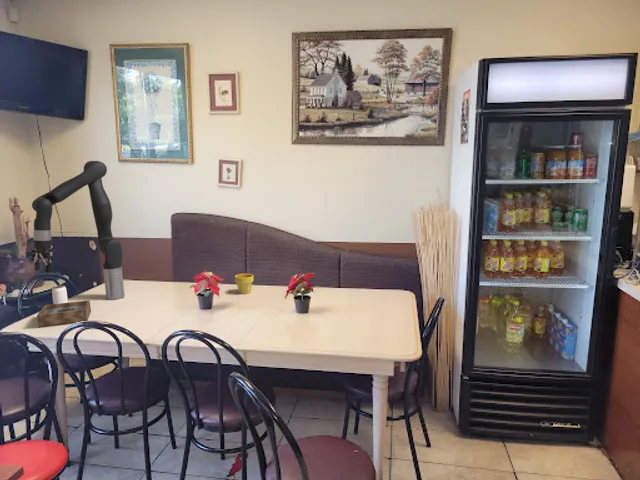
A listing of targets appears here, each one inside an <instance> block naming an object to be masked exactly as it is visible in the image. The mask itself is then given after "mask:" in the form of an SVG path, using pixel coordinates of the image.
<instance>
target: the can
mask: <svg viewBox="0 0 640 480" xmlns="http://www.w3.org/2000/svg"><path fill="white" fill-rule="evenodd" d="M51 293H52V294H51V295H52V302H53V303H52V304H60V303H69V300H68V299H69V298H68V292H67V287H66V285H65V284H58V285H54V286H52V289H51Z"/></svg>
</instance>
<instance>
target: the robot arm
mask: <svg viewBox="0 0 640 480" xmlns="http://www.w3.org/2000/svg"><path fill="white" fill-rule="evenodd" d="M107 168H108V167H107V165H106V164H105V163H104V162H103V161H100V160H89V161H87V162H85V163H84V165H83V171H82V172H80V173H79V174H77V175H76V176H74V177H72V178H70V179H67V180H65V181H64V182H62V183H60V184H59V185H57V186H55V187H54V188H52V189H51V190H50V191H48V192H47V193H43V194H42V195H40V196H37V198H35V199H34V200H33V201H32V202H31V207H32V209H33V210H34V211H35V212H36V214H35V218H34V220H33V236H32V237H33V238H32V239H33V241H32V242H33V243H32V244H33V247H32V248H33V249H31V252H30V253H31V258H30V261H31V262H33V263H34V271H36V272H39V271H40V270H41V264H40V263H41V261H42V262H44V264H45V265H44V267H45V271H44V272H45V273H46V274H49V273H51V272H52V265H54V264H55V254H54V251H50V250H51V249H52V232H51V228H52V227H51V223H52V222H51V221H52V215H53V206H54V205H56V204H59V203H61V202H62V203H63V201H65V200H66V199H68V198H69V197H71V196H72V195H73V194H75V193H76V192H78V191H80V190H81V189H82V188H84V187H85V186H87V187H88V191H89V198H90V203H91V208H92V213H93V219H94V223H95V227H96V231H97V243H98V244H97V245H98V249H99V251H100V252H101V254H103V255H104V261H103V263H102V270H103V271H102V272H103V279H104V290H105V297H106V300H111V301H112V300H120V299H124V298H125V296H126V295H125V284H124V283H125V282H124V279H123V278H124V276H123V268H122V267H123V266H122V263H123V249H122V244H121V242H120V241H119V240H118V239H114V237H113V233H112V232H113V231H112V222H113V210H112V209H113V208H112V203H111V201H110V199H109V196H108V194H107V192H106V191H105V188H104V185H103V180H102V179H103V178H104V177H105V176H106V174H107V171H108V169H107Z"/></svg>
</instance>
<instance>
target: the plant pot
mask: <svg viewBox="0 0 640 480" xmlns="http://www.w3.org/2000/svg"><path fill="white" fill-rule="evenodd" d="M234 281H235V283H236V286H237V291H238V293H239V294H241V295H245V294H250V293H251V292H252V285H253V282H254V275H253V274H252V273H239V274H236V275H235V276H234Z"/></svg>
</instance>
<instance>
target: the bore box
mask: <svg viewBox="0 0 640 480" xmlns="http://www.w3.org/2000/svg"><path fill="white" fill-rule="evenodd" d="M91 312H92V309H91V300H89V299H87V300H80V301H79V300H78V301H70V302H69V301H68V303H60V304H54V303H52V304H45V305H43V307H42V308H41V309H40V310H39V312H38V313H37V314H36V319H37V325H38V329H41V328H50V327H57V326H66V325H73V323H74V324H77V323H76V322H81V321H87V322H88V321H89V318H90V315H91Z"/></svg>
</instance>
